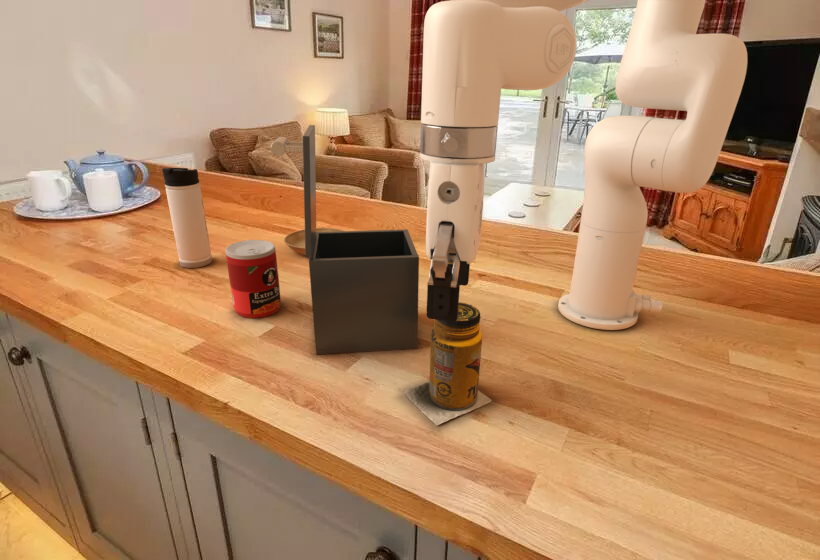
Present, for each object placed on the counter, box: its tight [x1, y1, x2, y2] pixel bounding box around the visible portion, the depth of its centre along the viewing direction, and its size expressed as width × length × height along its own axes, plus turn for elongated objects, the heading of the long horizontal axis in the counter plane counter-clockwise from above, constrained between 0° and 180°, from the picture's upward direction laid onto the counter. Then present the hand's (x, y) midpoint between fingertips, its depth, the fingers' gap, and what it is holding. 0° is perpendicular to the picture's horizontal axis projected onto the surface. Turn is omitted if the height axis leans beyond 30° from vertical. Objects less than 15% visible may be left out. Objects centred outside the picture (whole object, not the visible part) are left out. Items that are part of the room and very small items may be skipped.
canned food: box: [225, 239, 282, 319], centre depth 81 cm, size 8×8×11 cm
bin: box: [308, 229, 420, 355], centre depth 74 cm, size 15×13×14 cm
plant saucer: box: [283, 227, 344, 256], centre depth 111 cm, size 15×15×3 cm
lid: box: [270, 124, 317, 258], centre depth 67 cm, size 15×13×5 cm
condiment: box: [402, 302, 493, 426], centre depth 59 cm, size 7×8×12 cm
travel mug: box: [161, 167, 213, 269], centre depth 98 cm, size 6×7×20 cm
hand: (448, 300), depth 55 cm, fingers open, 9 cm apart
